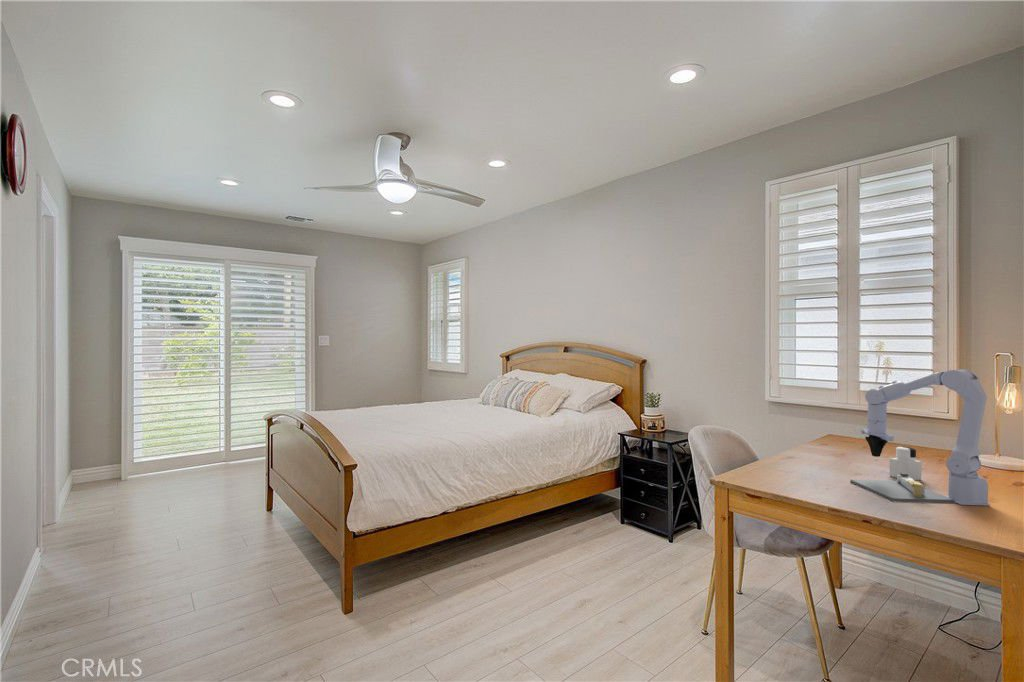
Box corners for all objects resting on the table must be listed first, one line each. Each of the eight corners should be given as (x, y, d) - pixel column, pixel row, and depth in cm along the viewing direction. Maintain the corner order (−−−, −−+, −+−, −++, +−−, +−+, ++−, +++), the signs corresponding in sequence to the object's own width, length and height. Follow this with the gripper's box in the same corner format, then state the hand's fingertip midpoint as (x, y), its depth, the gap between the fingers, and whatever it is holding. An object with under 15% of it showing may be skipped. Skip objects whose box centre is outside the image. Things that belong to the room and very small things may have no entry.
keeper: (906, 491, 169) (907, 479, 169) (918, 492, 168) (918, 480, 168) (912, 496, 164) (912, 483, 163) (924, 497, 162) (924, 485, 162)
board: (904, 483, 182) (904, 471, 182) (954, 502, 161) (954, 488, 161) (850, 482, 182) (850, 470, 182) (892, 501, 161) (893, 487, 161)
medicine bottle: (901, 474, 194) (902, 444, 193) (921, 479, 187) (922, 448, 187) (889, 476, 191) (889, 445, 191) (908, 481, 184) (909, 450, 184)
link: (895, 480, 181) (895, 474, 181) (908, 481, 179) (908, 475, 179) (911, 493, 166) (911, 486, 166) (926, 494, 164) (926, 487, 164)
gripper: (853, 417, 191) (852, 451, 192) (880, 423, 177) (879, 460, 177) (871, 417, 191) (870, 451, 191) (899, 424, 177) (898, 461, 177)
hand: (876, 456), depth 184 cm, fingers closed
